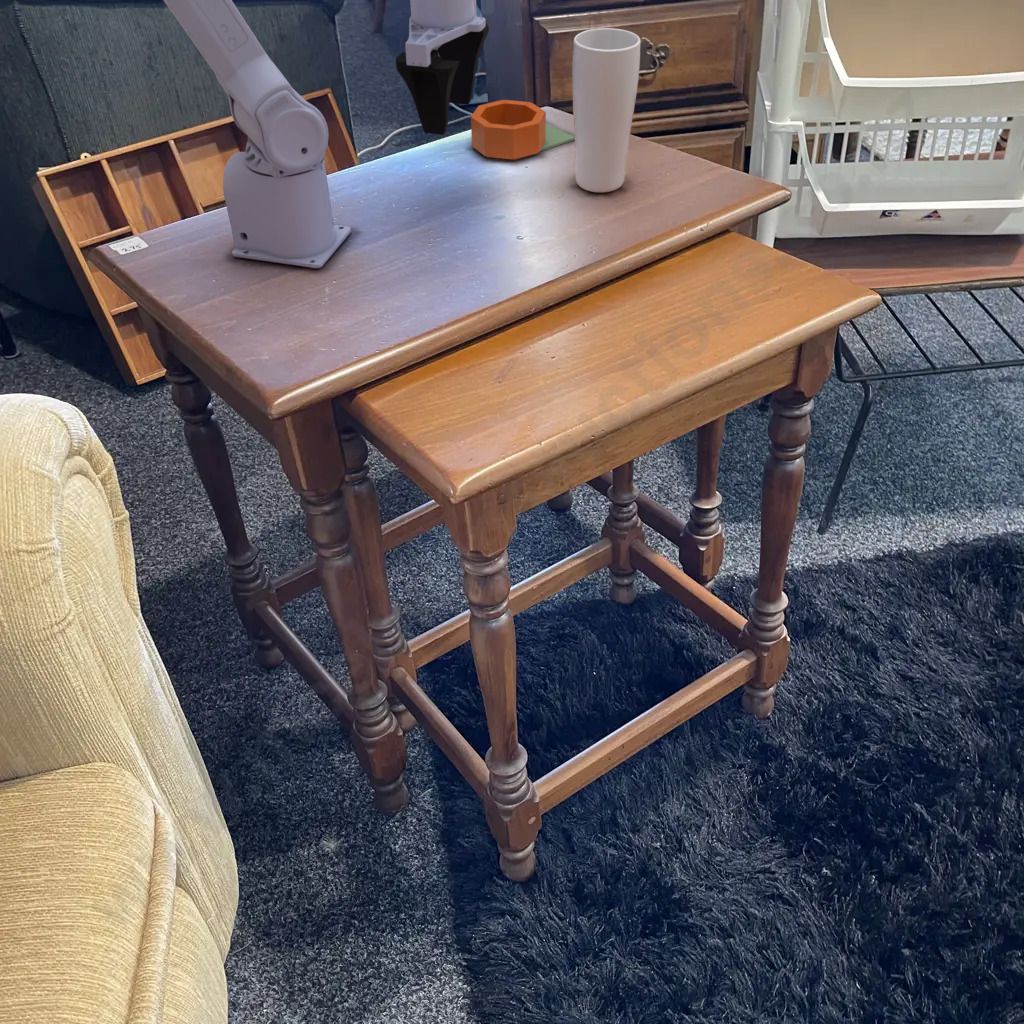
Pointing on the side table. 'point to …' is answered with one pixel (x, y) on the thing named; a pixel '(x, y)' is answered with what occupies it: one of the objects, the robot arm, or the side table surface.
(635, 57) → the drinking glass
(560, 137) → the mat
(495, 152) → the ring
